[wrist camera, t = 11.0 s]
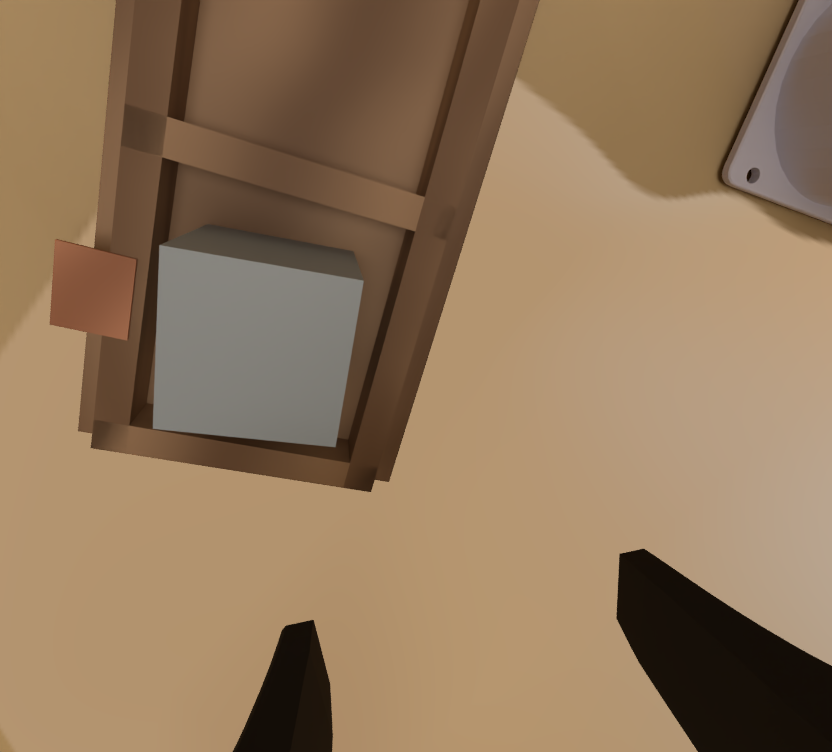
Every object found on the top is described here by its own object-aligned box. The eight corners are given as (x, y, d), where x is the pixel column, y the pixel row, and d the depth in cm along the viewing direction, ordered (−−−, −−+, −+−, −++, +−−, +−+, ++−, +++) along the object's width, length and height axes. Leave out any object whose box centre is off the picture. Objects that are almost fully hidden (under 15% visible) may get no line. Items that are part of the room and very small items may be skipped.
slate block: (353, 251, 17) (364, 280, 12) (333, 378, 18) (335, 447, 14) (207, 224, 16) (159, 245, 11) (198, 360, 17) (153, 428, 13)
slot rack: (570, -124, 15) (617, -181, 12) (386, 471, 21) (394, 509, 19) (145, -342, 12) (100, -470, 10) (79, 419, 18) (41, 456, 16)
